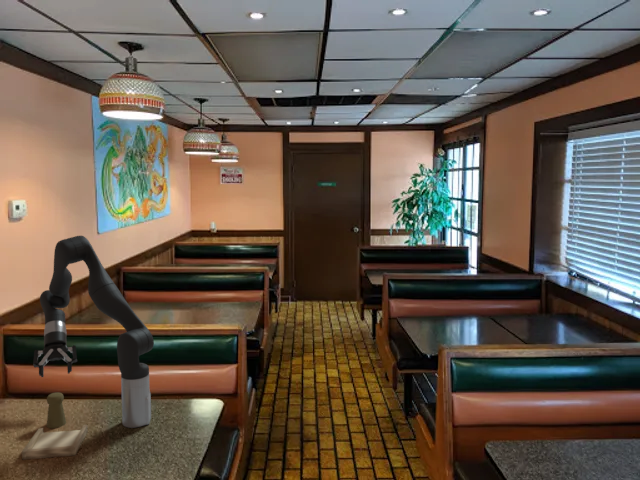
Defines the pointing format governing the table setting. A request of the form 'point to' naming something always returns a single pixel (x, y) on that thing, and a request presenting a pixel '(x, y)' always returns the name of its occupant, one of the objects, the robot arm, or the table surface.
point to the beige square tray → (54, 443)
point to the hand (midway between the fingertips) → (55, 374)
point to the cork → (55, 410)
